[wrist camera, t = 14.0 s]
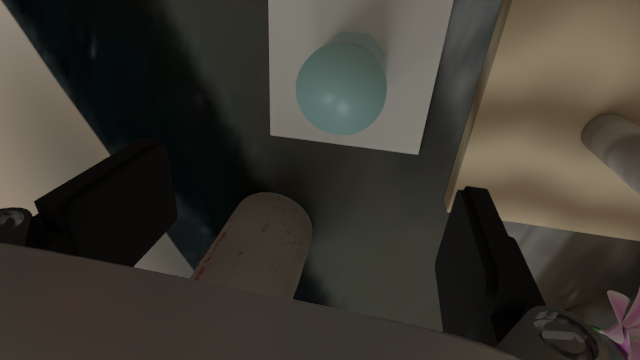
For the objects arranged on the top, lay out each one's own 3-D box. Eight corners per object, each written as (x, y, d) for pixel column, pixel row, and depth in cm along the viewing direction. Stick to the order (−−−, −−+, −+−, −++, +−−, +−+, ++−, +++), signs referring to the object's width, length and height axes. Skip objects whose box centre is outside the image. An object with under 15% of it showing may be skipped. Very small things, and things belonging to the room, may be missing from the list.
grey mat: (417, 151, 28) (418, 154, 27) (272, 132, 29) (270, 135, 29) (457, -23, 22) (458, -22, 21) (270, -36, 23) (267, -36, 23)
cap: (393, 33, 23) (393, 49, 18) (381, 107, 26) (379, 140, 21) (317, 26, 24) (296, 40, 19) (313, 99, 27) (294, 129, 21)
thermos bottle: (221, 225, 36) (-119, 723, 12) (261, 176, 32) (-133, 775, 8) (284, 268, 37) (91, 786, 13) (329, 225, 33) (168, 856, 9)
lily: (632, 340, 35) (767, 416, 26) (528, 377, 34) (628, 471, 24) (620, 228, 33) (760, 265, 24) (509, 263, 32) (610, 316, 22)
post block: (651, 228, 27) (750, 326, 20) (444, 198, 29) (461, 276, 22) (812, 2, 19) (1087, 21, 12) (508, -19, 21) (572, -15, 14)
